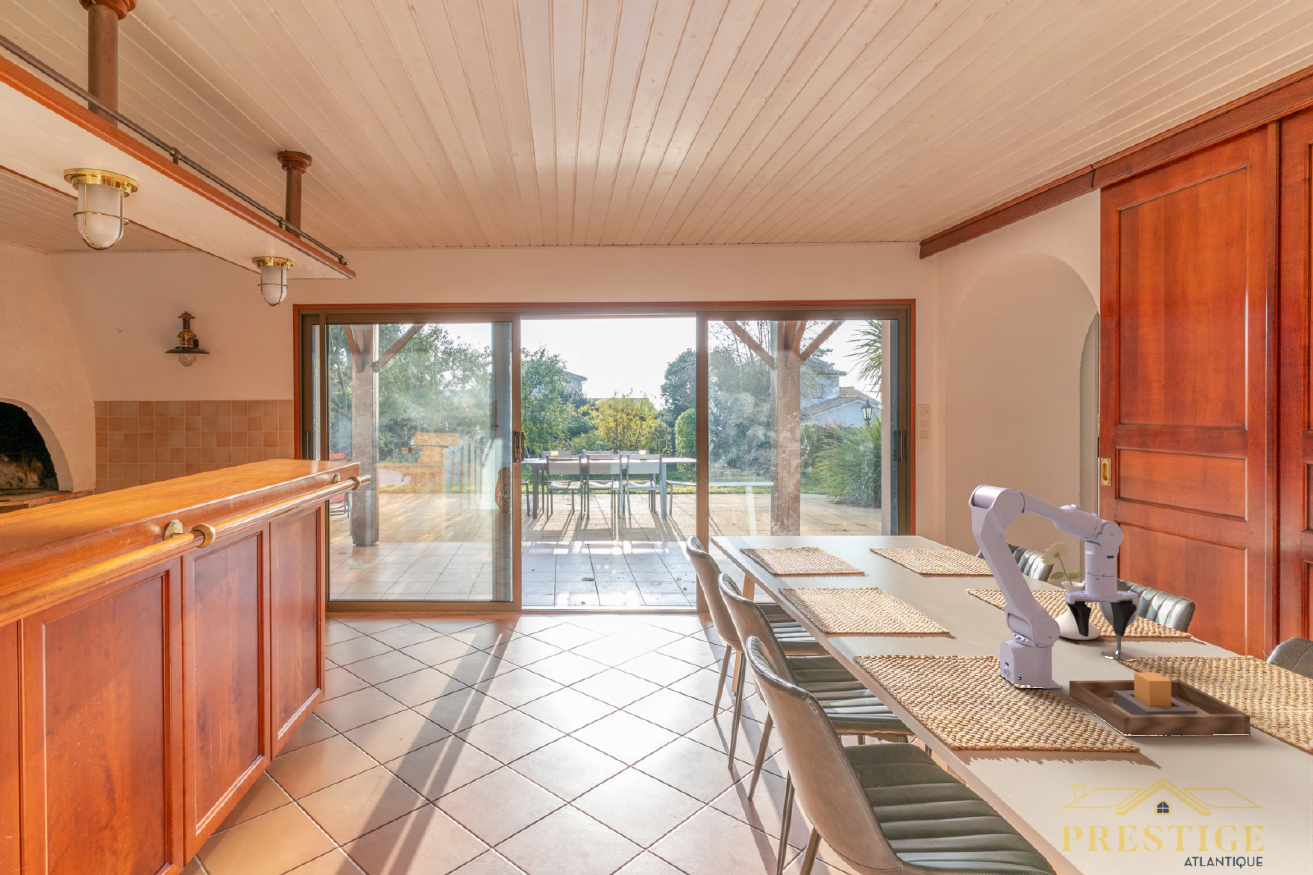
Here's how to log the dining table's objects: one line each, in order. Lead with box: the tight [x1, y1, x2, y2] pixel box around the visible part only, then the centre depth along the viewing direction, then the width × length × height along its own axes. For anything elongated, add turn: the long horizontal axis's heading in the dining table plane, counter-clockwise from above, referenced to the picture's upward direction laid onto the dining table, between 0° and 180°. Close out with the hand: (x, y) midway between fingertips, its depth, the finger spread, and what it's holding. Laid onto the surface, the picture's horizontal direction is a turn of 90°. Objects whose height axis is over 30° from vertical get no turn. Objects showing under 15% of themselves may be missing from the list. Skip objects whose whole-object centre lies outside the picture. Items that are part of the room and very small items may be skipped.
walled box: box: [1068, 679, 1251, 737], centre depth 121 cm, size 22×16×4 cm
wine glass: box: [1098, 589, 1141, 662], centre depth 151 cm, size 8×8×15 cm
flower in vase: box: [1040, 541, 1101, 641], centre depth 165 cm, size 13×11×25 cm
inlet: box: [1113, 690, 1197, 715], centre depth 121 cm, size 9×9×2 cm
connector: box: [1133, 672, 1171, 707], centre depth 122 cm, size 4×4×7 cm
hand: (1101, 634), depth 139 cm, fingers open, 7 cm apart
